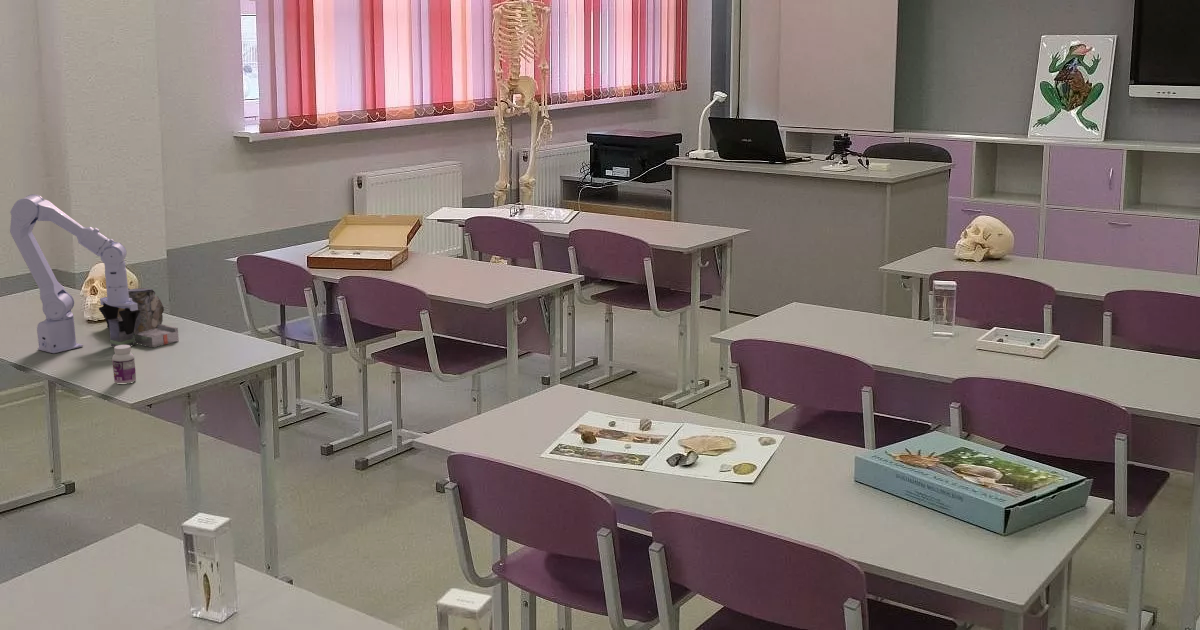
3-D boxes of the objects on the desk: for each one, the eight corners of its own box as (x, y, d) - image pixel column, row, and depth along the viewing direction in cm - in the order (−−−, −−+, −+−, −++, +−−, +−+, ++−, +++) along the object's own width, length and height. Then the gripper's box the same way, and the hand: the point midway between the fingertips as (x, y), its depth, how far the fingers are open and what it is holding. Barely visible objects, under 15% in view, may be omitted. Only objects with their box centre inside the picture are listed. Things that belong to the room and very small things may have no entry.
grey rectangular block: (120, 348, 346) (118, 321, 344) (110, 346, 349) (108, 319, 347) (134, 345, 350) (132, 318, 348) (124, 343, 352) (122, 316, 350)
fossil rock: (105, 340, 370) (97, 291, 369) (132, 335, 377) (125, 288, 376) (143, 336, 358) (135, 286, 357) (171, 332, 365) (163, 282, 364)
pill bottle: (110, 382, 314) (106, 346, 312) (129, 378, 318) (125, 342, 316) (121, 386, 311) (118, 350, 308) (140, 381, 315) (137, 346, 312)
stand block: (153, 347, 347) (151, 334, 346) (135, 343, 352) (133, 330, 351) (179, 341, 354) (178, 327, 354) (161, 337, 359) (160, 324, 358)
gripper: (145, 286, 344) (149, 332, 348) (113, 280, 352) (118, 325, 355) (123, 290, 339) (128, 337, 342) (91, 284, 346) (96, 330, 350)
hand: (121, 331), depth 348 cm, fingers open, 7 cm apart
